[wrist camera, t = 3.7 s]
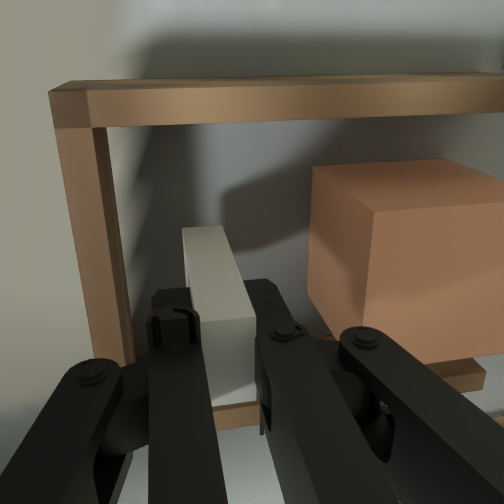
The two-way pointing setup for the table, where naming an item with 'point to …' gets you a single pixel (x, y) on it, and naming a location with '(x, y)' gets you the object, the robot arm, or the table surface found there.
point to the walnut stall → (221, 111)
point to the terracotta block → (410, 255)
